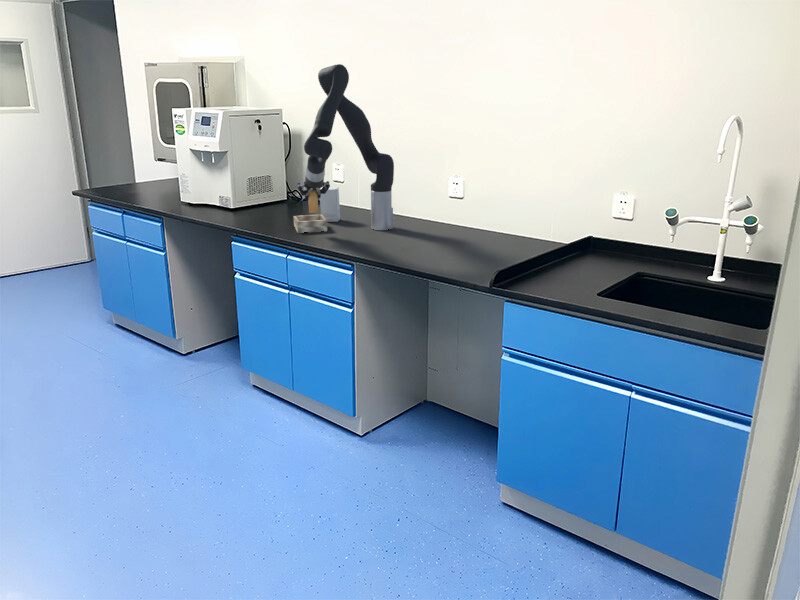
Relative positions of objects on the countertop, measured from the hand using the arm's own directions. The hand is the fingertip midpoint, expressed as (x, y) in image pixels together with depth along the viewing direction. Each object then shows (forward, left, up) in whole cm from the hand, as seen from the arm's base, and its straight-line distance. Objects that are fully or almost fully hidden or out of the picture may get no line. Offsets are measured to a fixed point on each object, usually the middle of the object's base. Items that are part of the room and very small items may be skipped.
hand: (312, 198), depth 271 cm
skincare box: (-12, -23, -15) cm, 30 cm away
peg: (0, +2, -6) cm, 6 cm away
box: (0, -8, -15) cm, 17 cm away
